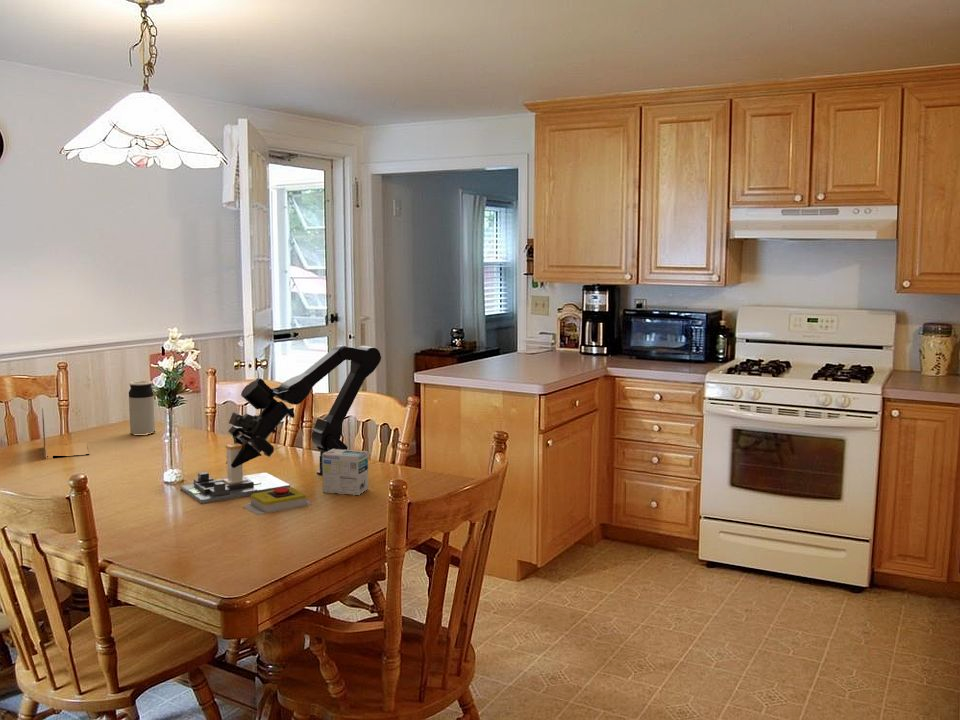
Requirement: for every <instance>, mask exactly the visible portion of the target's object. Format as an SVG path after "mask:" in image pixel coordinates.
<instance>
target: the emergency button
mask: <svg viewBox="0 0 960 720" xmlns="http://www.w3.org/2000/svg"><path fill="white" fill-rule="evenodd" d="M250 497H251V499H250V503H247V504H242V506H243V507H242V508H244V509H246V510H248V511H249V512H251V513H253V514H254V515H257V516H260V515H265V514H271V513H275V512H280V511H286V510H291V509H296V508H297V509H298V508H301V507H306V506H311V505H312V504H313V503H312V502H311V501H308V500H307V495H306V493H304V492H302V491H300V490H299V489H296V488H294V487H292V486H290V487H288V488H283V487H282V488H276V489H274V490H271V491H265V492H260V493H254V494H252V495H250Z"/></svg>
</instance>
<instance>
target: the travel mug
mask: <svg viewBox="0 0 960 720" xmlns="http://www.w3.org/2000/svg"><path fill="white" fill-rule="evenodd" d="M152 384H153V381H151V380H135V381H130V382H128V385H129V386H130V389H129V391H128V407H129V408H128V410H129V429H130V430H129V431H130V433H132V434H146V433H151V432H154V431H155V432H156V423H155V421H156V419H155V400H154V399H155V398H154V397H155V395H154V394H153V392H152V389H153V388H152ZM132 434H131V435H132Z"/></svg>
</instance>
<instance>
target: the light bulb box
mask: <svg viewBox="0 0 960 720" xmlns="http://www.w3.org/2000/svg"><path fill="white" fill-rule="evenodd" d="M322 466H323V475H322V493H323V492H325V494H334V493H338V494H337V495H344V494H353V495H352V496H355V495H359V496H361V495H362V494H363V492H364V491H365V490H367V489H368V488H369V484H370V482H369V479H370V478H369V477H370V476H369V450H356V449H355V450H354V449H353V450H352V449H347V450H341V449H331V450H329V451H327V452H325V453H323V454H322ZM369 489H370V488H369ZM367 491H368V490H367ZM365 492H366V491H365ZM365 492H364V493H365ZM361 493H362V494H361ZM360 494H361V495H360Z"/></svg>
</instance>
